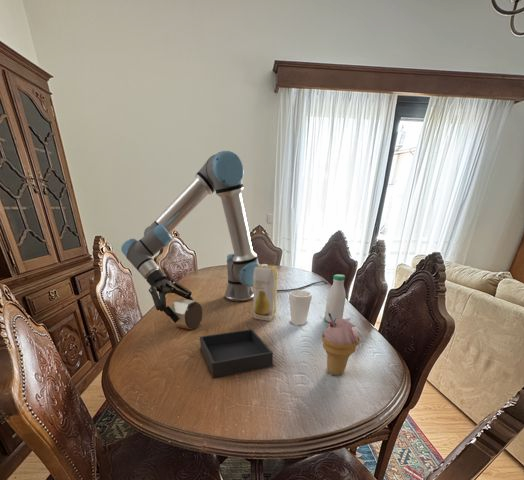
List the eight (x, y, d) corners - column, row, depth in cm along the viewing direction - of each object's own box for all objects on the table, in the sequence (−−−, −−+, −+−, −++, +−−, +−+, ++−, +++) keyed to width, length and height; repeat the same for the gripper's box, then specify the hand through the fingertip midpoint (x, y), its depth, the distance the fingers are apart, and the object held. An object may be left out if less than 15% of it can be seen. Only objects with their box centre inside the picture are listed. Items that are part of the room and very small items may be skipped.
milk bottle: (342, 324, 124) (349, 278, 115) (324, 322, 126) (330, 277, 116) (341, 317, 131) (348, 273, 122) (324, 316, 132) (329, 272, 123)
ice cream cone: (333, 385, 84) (342, 322, 74) (310, 367, 92) (317, 309, 83) (360, 376, 88) (373, 315, 79) (337, 360, 97) (346, 303, 87)
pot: (172, 329, 117) (168, 303, 112) (188, 320, 126) (185, 296, 121) (188, 333, 115) (184, 306, 109) (203, 323, 123) (201, 298, 118)
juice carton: (251, 319, 128) (251, 264, 117) (258, 313, 135) (258, 261, 123) (271, 322, 125) (273, 266, 114) (277, 316, 132) (279, 262, 120)
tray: (252, 340, 109) (252, 328, 107) (272, 366, 93) (273, 352, 91) (201, 349, 103) (199, 336, 100) (213, 377, 87) (212, 363, 84)
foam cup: (311, 320, 128) (313, 291, 122) (307, 327, 120) (309, 298, 114) (290, 317, 131) (292, 289, 125) (285, 324, 123) (286, 295, 117)
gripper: (169, 273, 128) (200, 310, 130) (125, 287, 108) (162, 331, 110) (177, 262, 124) (209, 301, 126) (133, 275, 104) (172, 320, 105)
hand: (187, 315), depth 118 cm, fingers open, 13 cm apart
